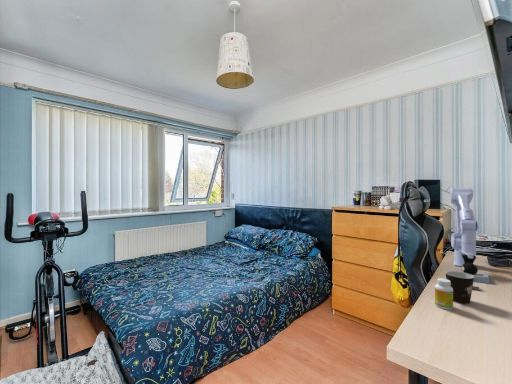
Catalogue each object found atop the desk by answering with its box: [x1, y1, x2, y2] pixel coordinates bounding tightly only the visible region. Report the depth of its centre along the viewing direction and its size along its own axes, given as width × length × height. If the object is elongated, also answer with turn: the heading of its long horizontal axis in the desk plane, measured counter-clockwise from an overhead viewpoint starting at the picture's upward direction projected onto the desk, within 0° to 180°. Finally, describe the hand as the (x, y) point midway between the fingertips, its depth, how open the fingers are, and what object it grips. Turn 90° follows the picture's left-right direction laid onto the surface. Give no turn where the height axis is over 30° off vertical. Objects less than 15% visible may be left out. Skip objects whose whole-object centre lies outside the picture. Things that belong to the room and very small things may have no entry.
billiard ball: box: [461, 263, 479, 275], centre depth 127 cm, size 6×6×6 cm
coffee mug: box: [445, 270, 475, 305], centre depth 98 cm, size 12×9×10 cm
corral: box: [455, 268, 490, 284], centre depth 122 cm, size 8×11×2 cm
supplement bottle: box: [434, 277, 454, 310], centre depth 92 cm, size 5×5×10 cm
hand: (468, 269), depth 130 cm, fingers closed
